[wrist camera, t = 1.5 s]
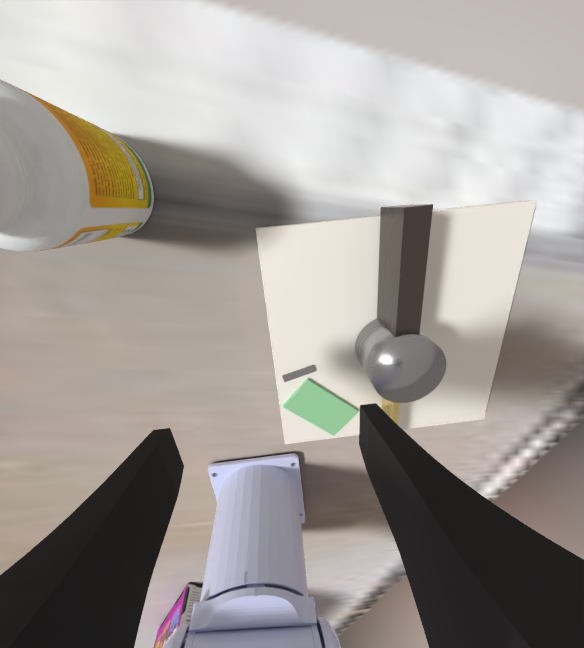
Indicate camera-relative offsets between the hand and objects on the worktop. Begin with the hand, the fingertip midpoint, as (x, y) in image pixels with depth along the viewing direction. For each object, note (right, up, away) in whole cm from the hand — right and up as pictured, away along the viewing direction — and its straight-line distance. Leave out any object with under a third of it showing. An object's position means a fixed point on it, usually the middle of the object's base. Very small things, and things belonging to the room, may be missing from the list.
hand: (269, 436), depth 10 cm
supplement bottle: (-10, +12, +5) cm, 16 cm away
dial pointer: (+7, +3, +9) cm, 12 cm away
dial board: (+8, +3, +10) cm, 13 cm away
